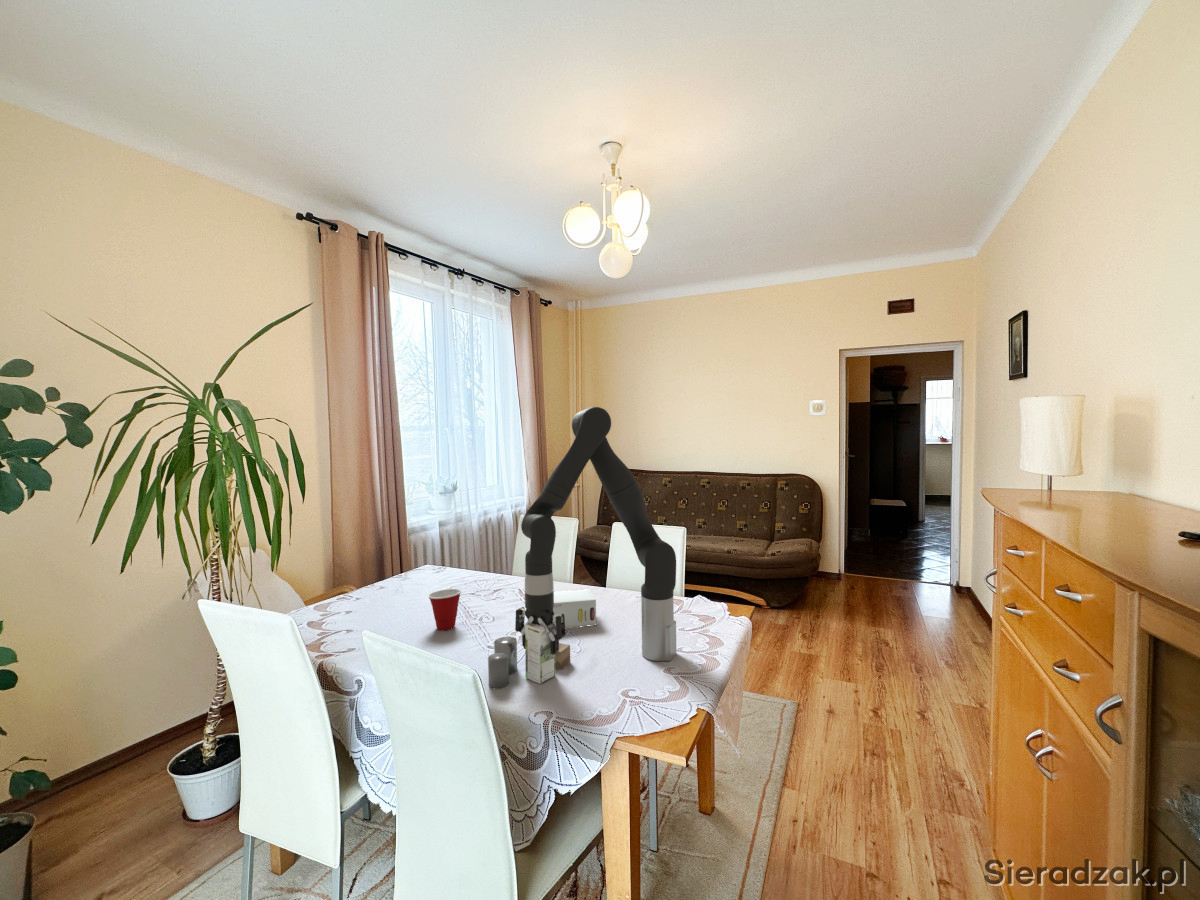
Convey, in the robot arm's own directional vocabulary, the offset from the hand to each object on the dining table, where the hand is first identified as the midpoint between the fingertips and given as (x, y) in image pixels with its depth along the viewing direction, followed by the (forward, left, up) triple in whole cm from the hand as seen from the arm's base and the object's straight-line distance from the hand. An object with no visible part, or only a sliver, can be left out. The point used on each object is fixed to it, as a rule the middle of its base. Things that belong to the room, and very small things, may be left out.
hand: (540, 650), depth 132 cm
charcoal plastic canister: (+8, +7, -7) cm, 13 cm away
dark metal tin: (+11, 0, -7) cm, 13 cm away
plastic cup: (+49, -16, -7) cm, 52 cm away
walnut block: (0, -9, -7) cm, 11 cm away
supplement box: (+14, -38, -8) cm, 41 cm away
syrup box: (0, 0, -7) cm, 7 cm away
